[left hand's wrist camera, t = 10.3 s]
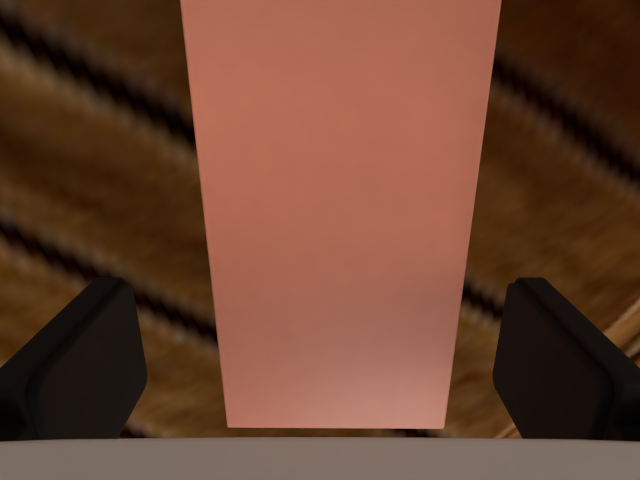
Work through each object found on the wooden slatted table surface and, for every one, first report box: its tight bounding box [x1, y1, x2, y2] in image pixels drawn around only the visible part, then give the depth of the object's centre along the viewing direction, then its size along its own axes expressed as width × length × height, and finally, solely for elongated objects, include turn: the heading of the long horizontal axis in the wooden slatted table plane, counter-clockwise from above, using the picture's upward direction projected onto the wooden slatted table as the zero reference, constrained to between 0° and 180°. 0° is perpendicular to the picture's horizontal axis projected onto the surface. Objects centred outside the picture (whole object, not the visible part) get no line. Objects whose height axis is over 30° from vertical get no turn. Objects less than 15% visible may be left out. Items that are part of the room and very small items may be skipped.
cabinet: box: [180, 0, 501, 429], centre depth 13 cm, size 20×6×9 cm, turn 0°
